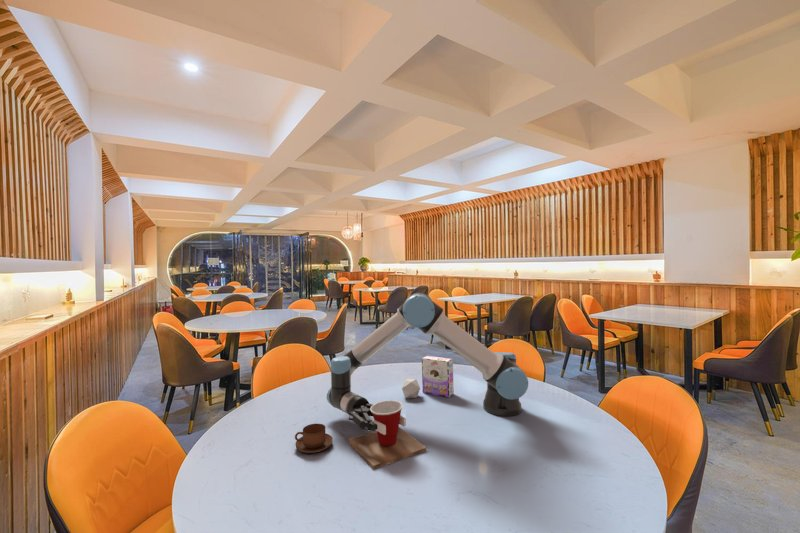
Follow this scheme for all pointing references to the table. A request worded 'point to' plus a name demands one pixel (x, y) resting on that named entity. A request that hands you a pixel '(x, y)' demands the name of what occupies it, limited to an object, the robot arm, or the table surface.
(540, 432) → the table surface
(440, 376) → the candy box
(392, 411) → the plastic cup
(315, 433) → the cup and saucer
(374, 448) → the walnut board
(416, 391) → the die
